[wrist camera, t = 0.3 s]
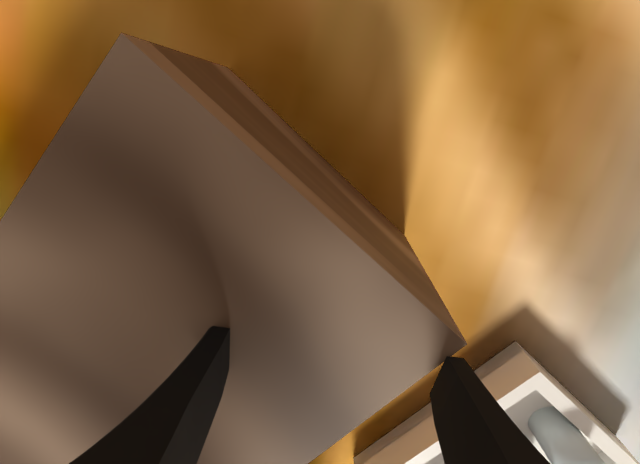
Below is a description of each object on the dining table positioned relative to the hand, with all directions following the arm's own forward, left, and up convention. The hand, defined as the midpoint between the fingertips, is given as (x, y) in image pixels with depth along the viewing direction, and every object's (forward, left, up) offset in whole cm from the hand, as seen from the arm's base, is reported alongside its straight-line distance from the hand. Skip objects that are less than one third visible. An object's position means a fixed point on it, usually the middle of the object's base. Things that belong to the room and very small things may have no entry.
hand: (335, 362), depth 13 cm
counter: (-8, +4, -11) cm, 14 cm away
